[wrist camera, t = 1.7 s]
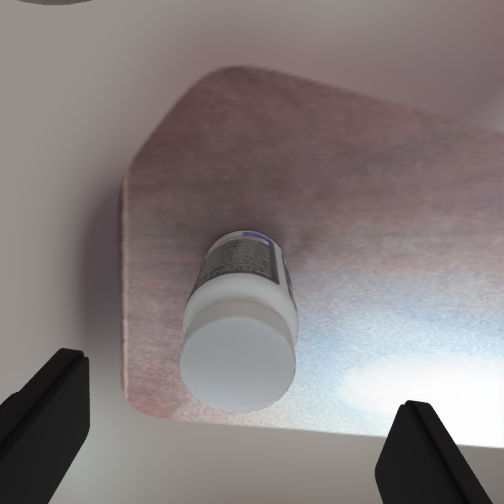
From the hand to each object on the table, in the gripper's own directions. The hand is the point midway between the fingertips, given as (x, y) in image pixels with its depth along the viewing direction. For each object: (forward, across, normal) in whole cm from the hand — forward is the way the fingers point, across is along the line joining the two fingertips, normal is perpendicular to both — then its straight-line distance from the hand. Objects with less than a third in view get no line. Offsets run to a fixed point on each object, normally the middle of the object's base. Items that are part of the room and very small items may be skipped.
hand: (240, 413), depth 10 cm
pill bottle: (+10, 0, -1) cm, 10 cm away
